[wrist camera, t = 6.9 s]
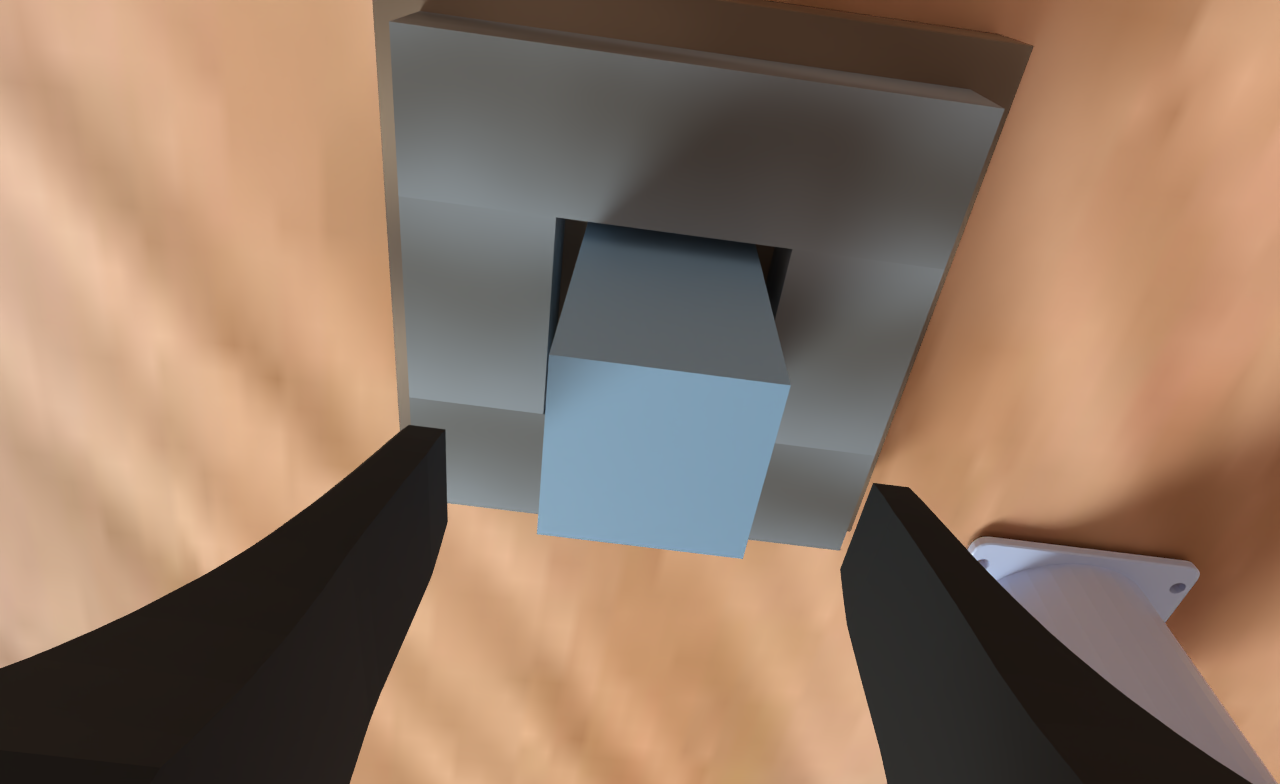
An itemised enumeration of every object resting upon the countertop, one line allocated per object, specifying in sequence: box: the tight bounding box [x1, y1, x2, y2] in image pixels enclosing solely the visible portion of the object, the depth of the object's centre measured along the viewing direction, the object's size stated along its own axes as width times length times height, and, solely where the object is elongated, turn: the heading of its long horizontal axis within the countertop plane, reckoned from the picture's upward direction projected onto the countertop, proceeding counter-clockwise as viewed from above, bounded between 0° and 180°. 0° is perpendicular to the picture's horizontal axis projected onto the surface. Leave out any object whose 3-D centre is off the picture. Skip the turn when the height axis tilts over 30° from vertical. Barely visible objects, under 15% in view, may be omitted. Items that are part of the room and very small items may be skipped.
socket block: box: [373, 0, 1033, 550], centre depth 19 cm, size 14×14×4 cm
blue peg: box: [537, 222, 791, 559], centre depth 16 cm, size 4×4×7 cm
